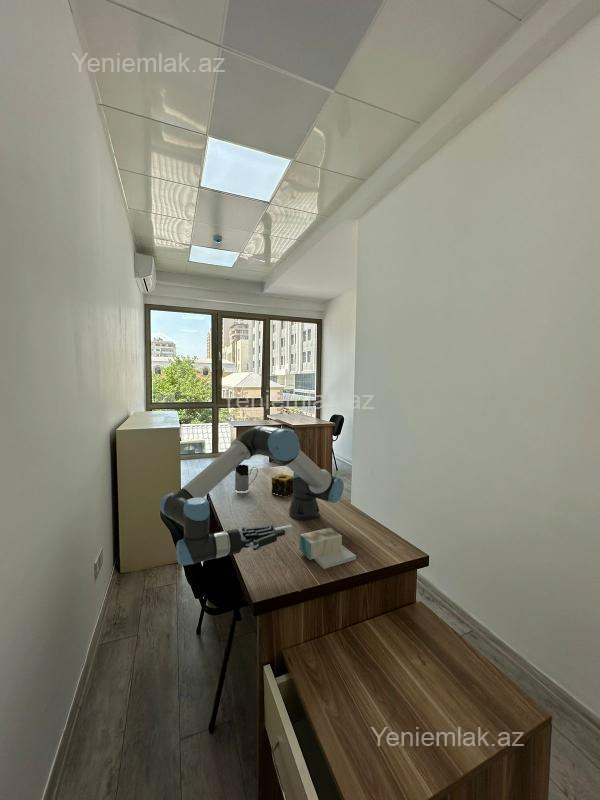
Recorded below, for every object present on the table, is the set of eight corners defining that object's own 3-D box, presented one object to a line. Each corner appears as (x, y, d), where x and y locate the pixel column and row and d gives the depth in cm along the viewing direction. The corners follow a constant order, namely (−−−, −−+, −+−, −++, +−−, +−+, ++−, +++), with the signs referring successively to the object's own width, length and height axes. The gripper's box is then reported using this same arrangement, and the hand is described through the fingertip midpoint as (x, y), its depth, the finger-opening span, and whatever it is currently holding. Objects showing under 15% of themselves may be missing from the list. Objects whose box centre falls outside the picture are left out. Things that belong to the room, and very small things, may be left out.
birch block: (299, 534, 125) (330, 527, 132) (299, 549, 125) (330, 541, 132) (310, 543, 118) (341, 535, 125) (309, 559, 118) (341, 551, 125)
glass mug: (232, 489, 196) (232, 465, 195) (254, 486, 203) (254, 462, 202) (237, 494, 188) (237, 468, 187) (260, 490, 195) (260, 466, 194)
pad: (300, 545, 131) (300, 542, 131) (329, 538, 138) (329, 535, 138) (324, 569, 115) (324, 564, 115) (355, 559, 122) (355, 555, 122)
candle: (295, 492, 193) (295, 476, 193) (285, 497, 185) (285, 480, 184) (281, 489, 199) (281, 473, 198) (271, 494, 190) (271, 477, 189)
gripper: (221, 545, 113) (283, 531, 124) (232, 564, 101) (299, 547, 113) (222, 524, 112) (283, 512, 124) (233, 540, 101) (300, 526, 112)
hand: (291, 529), depth 118 cm, fingers closed
